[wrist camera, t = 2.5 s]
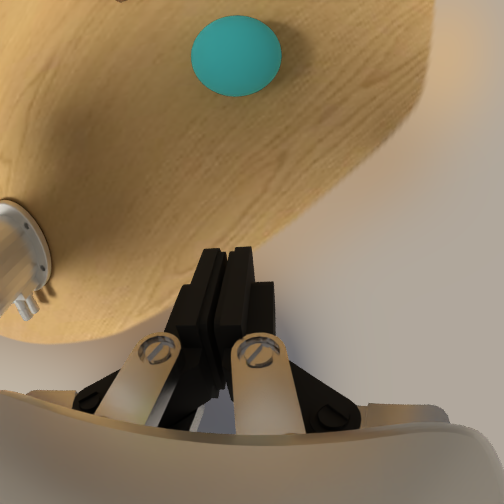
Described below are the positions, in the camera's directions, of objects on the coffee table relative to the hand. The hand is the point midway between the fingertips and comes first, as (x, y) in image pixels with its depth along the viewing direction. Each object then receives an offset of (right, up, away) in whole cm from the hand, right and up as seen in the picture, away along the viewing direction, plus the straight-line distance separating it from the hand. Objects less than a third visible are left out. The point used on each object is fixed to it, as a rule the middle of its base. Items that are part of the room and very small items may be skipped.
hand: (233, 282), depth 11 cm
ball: (0, +14, +6) cm, 15 cm away
